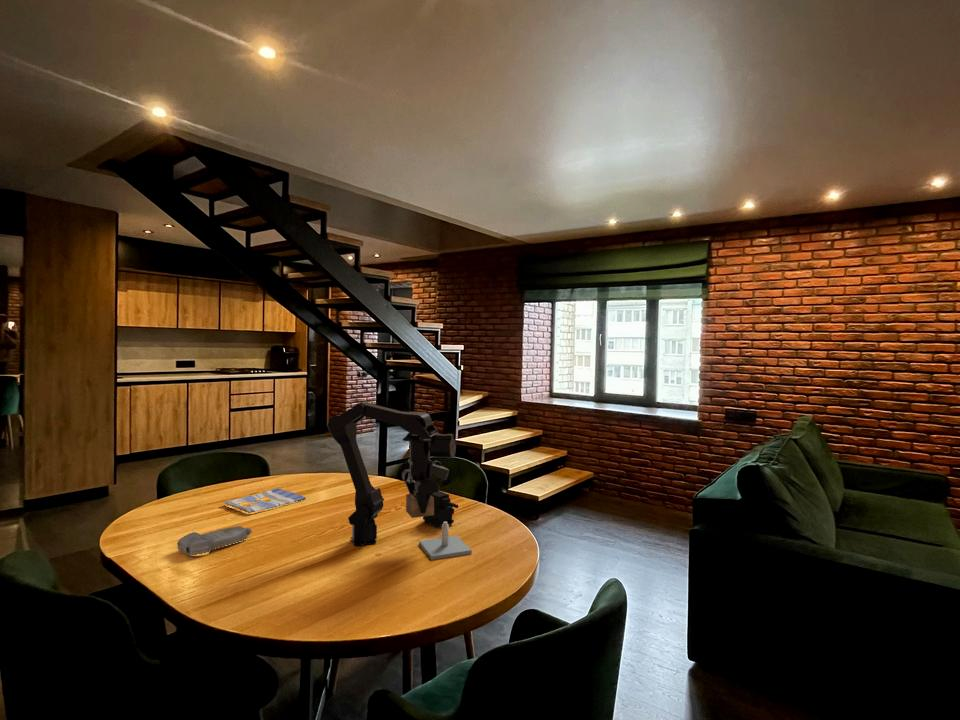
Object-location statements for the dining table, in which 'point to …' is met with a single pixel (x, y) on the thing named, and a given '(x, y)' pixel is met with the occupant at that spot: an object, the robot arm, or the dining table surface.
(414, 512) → the hollow square sleeve
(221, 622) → the dining table surface
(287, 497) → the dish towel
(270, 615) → the dining table surface
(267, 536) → the dining table surface
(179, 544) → the handheld device
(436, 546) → the grey peg base
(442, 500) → the toy
